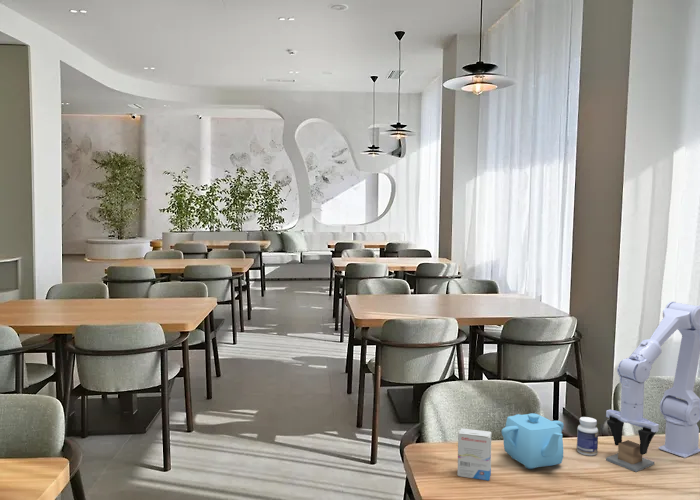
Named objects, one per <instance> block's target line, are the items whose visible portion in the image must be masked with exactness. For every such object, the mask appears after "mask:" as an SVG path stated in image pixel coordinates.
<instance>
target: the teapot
mask: <svg viewBox="0 0 700 500" xmlns="http://www.w3.org/2000/svg"><path fill="white" fill-rule="evenodd" d="M564 425H565V424H564V422H563V421H562V420H561V421H560V420H550V419H549V418H546V417H544V416H542V415H540V414H538V413H535V412H534V413H533V412H532V413H526V414H519V413H518V414H517V413H516V414H515V415H509V416H507V418H506V422H505V427H503V428H502V429H501V435H502V437H503V448H504V452H505V453H506V454H507V455H509V456H510V457H511V459H513V460H516V461H517V462H519V463H520V464H522V465H524V468H525V469H527V470H528V469H529V470H534V469H536V468H541V467H542V468H543V467H553V466H555V465H560V464H562V462H563V459H564V439H563V435H564V434H563V433H562V432H563V430H564Z"/></svg>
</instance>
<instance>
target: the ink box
mask: <svg viewBox="0 0 700 500" xmlns="http://www.w3.org/2000/svg"><path fill="white" fill-rule="evenodd" d="M491 474H492V431H488V430H487V431H486V430H479V429H471V428H462V427H460V429H459V431H458V435H457V476H458V477H462V478H469V479H476V480H483V481H487V482H488V481H491V480H490V479H491Z"/></svg>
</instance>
